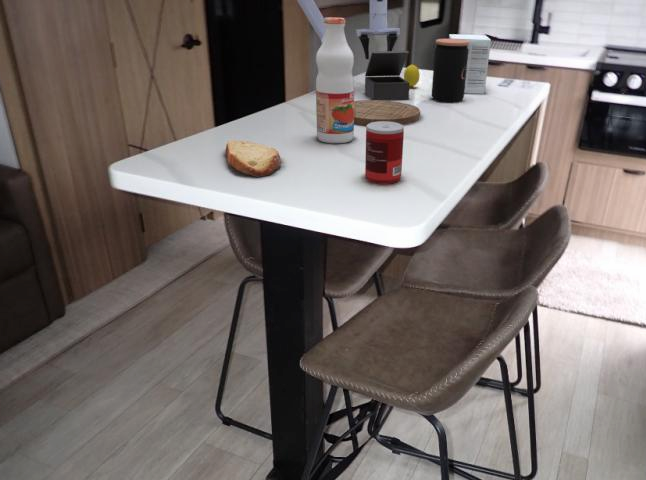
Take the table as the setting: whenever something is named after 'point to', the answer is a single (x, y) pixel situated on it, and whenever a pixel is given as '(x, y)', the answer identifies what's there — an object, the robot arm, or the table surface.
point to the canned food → (384, 152)
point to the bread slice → (252, 158)
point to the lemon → (412, 75)
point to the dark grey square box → (387, 88)
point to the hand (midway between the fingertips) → (377, 58)
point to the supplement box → (476, 62)
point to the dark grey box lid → (386, 63)
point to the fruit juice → (335, 85)
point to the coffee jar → (450, 70)
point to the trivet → (384, 112)
